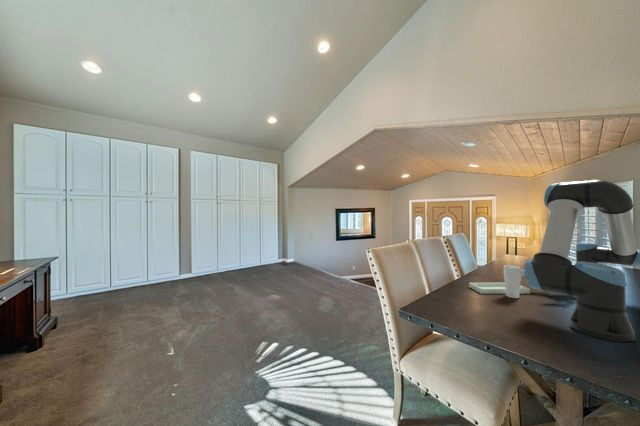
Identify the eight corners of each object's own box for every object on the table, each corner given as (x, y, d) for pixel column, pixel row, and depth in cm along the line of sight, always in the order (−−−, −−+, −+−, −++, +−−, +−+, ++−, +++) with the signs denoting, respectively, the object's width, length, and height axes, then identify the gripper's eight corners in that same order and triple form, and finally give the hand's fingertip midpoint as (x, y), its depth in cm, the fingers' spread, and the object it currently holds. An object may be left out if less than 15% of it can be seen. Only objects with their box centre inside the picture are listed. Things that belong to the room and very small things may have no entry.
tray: (482, 294, 129) (482, 289, 129) (469, 287, 141) (468, 282, 141) (530, 293, 128) (529, 288, 128) (512, 286, 140) (512, 282, 140)
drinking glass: (514, 299, 120) (513, 268, 120) (500, 295, 126) (500, 265, 126) (524, 298, 122) (524, 267, 122) (510, 294, 128) (510, 264, 128)
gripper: (599, 289, 114) (556, 291, 112) (545, 275, 139) (509, 277, 137) (598, 272, 114) (555, 275, 112) (545, 261, 139) (509, 263, 137)
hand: (530, 276), depth 125 cm, fingers open, 13 cm apart
